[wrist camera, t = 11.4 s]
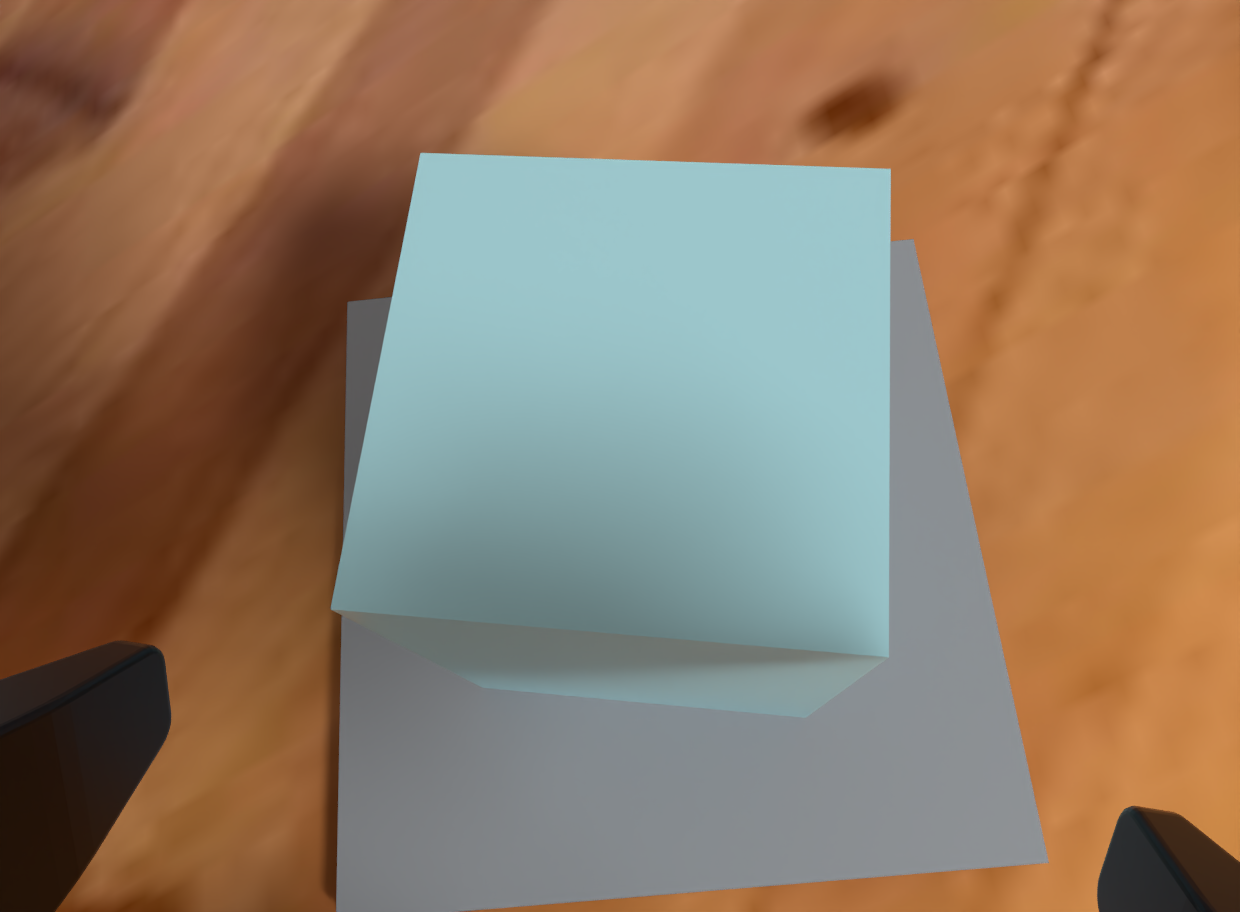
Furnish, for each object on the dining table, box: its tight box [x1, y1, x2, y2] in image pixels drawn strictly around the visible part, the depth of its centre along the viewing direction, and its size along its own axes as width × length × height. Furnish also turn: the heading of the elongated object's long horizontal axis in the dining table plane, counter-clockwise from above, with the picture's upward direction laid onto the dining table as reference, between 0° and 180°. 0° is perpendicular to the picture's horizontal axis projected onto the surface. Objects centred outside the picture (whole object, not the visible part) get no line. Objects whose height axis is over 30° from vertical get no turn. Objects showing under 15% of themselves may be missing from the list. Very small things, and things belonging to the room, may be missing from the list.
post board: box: [336, 239, 1049, 912], centre depth 20 cm, size 14×14×4 cm
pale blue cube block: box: [331, 153, 891, 718], centre depth 17 cm, size 7×7×9 cm
